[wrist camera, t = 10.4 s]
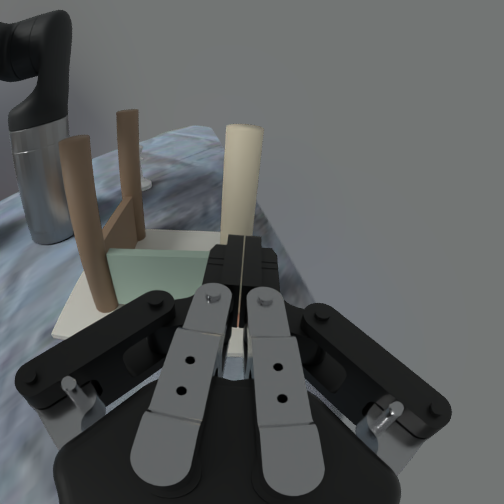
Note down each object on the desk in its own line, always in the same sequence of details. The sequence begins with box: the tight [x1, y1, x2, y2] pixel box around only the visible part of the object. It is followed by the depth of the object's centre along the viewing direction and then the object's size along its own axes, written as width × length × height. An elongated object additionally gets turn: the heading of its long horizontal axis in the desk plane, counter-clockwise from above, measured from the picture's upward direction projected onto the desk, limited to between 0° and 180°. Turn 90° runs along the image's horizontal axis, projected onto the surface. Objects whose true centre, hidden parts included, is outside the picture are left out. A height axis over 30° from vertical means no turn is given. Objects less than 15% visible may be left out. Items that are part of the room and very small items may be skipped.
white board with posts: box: [52, 109, 243, 357], centre depth 28 cm, size 20×20×18 cm
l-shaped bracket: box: [106, 124, 264, 314], centre depth 24 cm, size 13×3×17 cm, turn 95°
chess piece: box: [139, 145, 152, 191], centre depth 51 cm, size 5×5×10 cm
